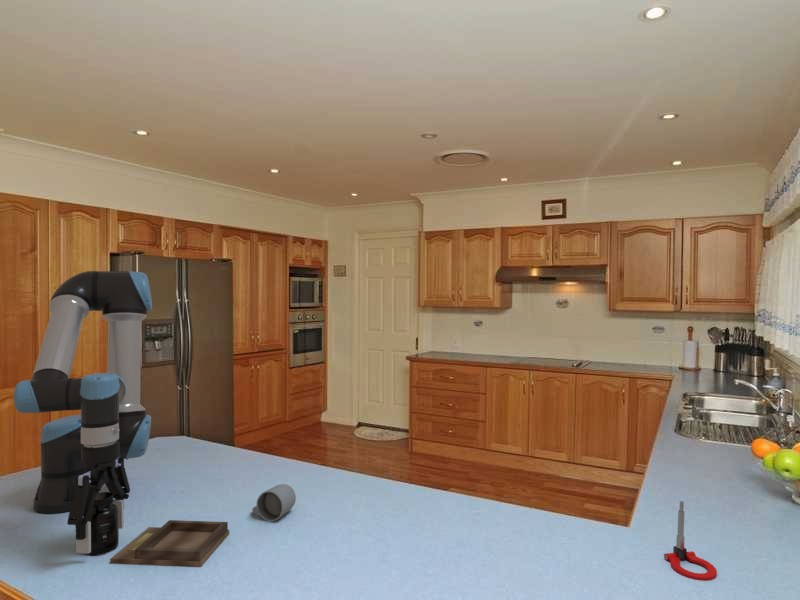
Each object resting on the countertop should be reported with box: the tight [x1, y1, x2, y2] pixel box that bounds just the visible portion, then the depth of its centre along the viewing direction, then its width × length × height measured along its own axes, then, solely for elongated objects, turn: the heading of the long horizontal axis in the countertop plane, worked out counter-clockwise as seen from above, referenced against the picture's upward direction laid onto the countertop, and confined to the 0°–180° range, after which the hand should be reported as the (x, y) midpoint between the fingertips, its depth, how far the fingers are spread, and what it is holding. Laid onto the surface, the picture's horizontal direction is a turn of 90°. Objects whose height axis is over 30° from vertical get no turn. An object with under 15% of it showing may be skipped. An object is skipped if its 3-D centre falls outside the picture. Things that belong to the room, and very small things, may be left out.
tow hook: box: [663, 500, 718, 582], centre depth 109 cm, size 8×13×9 cm
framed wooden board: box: [109, 519, 230, 568], centre depth 118 cm, size 20×15×3 cm
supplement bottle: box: [85, 491, 120, 556], centre depth 118 cm, size 7×7×12 cm
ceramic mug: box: [251, 483, 297, 522], centre depth 136 cm, size 11×8×8 cm
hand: (101, 539), depth 118 cm, fingers open, 11 cm apart
